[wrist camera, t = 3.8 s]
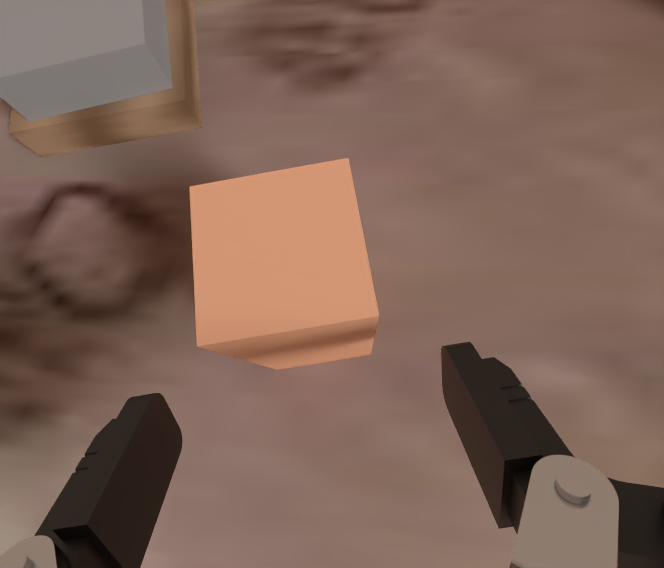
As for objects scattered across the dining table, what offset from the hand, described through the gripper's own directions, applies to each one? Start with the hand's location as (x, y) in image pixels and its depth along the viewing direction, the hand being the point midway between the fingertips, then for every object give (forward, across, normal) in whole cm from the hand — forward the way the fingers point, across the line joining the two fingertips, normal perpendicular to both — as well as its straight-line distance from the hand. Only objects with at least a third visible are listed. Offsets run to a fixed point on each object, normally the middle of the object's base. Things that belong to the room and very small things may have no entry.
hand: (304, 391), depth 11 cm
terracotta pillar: (+9, 0, +3) cm, 10 cm away
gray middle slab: (+21, +11, -12) cm, 27 cm away
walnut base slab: (+23, +11, -10) cm, 28 cm away
